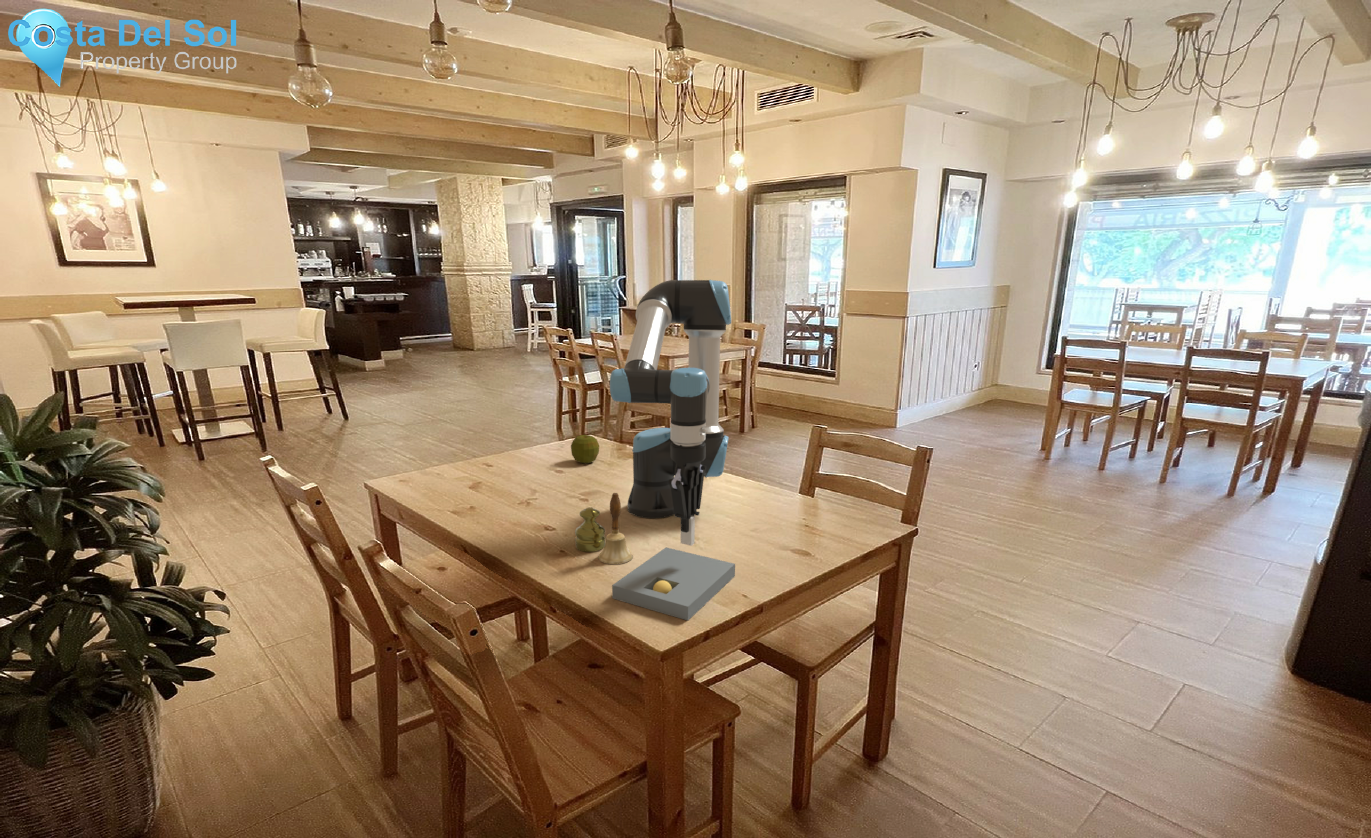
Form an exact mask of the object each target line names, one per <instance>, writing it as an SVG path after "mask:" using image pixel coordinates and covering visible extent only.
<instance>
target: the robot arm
mask: <svg viewBox="0 0 1371 838" xmlns="http://www.w3.org/2000/svg"><path fill="white" fill-rule="evenodd" d="M731 311H732V310H731V303H730V295H729V288H728V284H727V282H725V281H723V280H713V279H704V280H703V279H697V280H696V279H695V280H693V279H689V280H687V279H684V280H683V279H681V280H679V279H669V280H665V281H663V282H659V283H658V284H656V285H655V286H653V287H651V289H649V290H648V291H646V293H645V294H644V295H643V296H642V297H641V298H640V300H639V302H638V304H637V306H636V309H635V319H636V325H635V328H634V332H633V334H632V335H633V336H632V340H631V343H630V346H629V349H628V352H627V357H626V360H625V362H624V363H625V364H624V367H623V368H615V369H614V370H612V371H611V373H610V378H609V393H610V397H611V399H612V400H613V401H614V402H619V403H628V404H633V403H634V404H637V403H639V404H669V405H670V427H655V428H649V429H646V430H642V431H639V432H638V433H637V434H636V435H635V436H634V437H633V441H632V444H633V445H632V461H633V462H632V466H633V467H632V468H633V469H632V470H633V471H632V472H633V484H632V487H631V491H630V494H629V496H628V500H627V511H628V513H630V514H631V515H633V516H635V517H640V518H646V519H661V518H663V519H664V518H668V517H671V516H674V517H675V518H679V519H680V544H682V545H687V546H690V547H692V546H693V545H694V544H695V537H696V536H695V535H696V534H695V531H696V530H695V528H696V527H695V523H696V520H695V519H696V518H695V516H696V517H697V516H700V511H697V510H700V509H701V505H702V497H703V496H702V494H703V487H704V480H705V479H704V478H717V477H720V476H722V474H723V473H724V470H725V462H726V457H727V451H728V443H729V436H727V435H725V434H724V428H723V427H722V426H721V424H720V423H719V417H720V416H719V410H720V409H719V408H720V407H719V406H720V405H719V404H720V364H721V362H720V359H721V337H722V336H723V335H724V334H725V333H726V331H727V326H729V325H731V324H732V312H731ZM670 324H683V332H685V334H686V335H687V336H688V367H680V368H676V369H658V366H659V362H660V357H661V356H660V355H661V351H662V347H663V343H664V338H665V334H666V329H667V328H668V327H669V326H670Z"/></svg>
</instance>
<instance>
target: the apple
mask: <svg viewBox="0 0 1371 838" xmlns="http://www.w3.org/2000/svg"><path fill="white" fill-rule="evenodd" d="M570 444H571V445H570V450H571V456H572V458H573V459H574V460H575V462H578V463H580V464H585V463H586V464H590V463H592V462H595V461H596V460H597V457H598V455H599V452H600V444H599V441H598V440H597V438H595V436H592V435H589V434H588V435H587V434H586V433H585V432H584V434H581V435H577V436H576V437H575V438H574V439H573V440H572V442H571V443H570Z"/></svg>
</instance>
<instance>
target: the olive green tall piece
mask: <svg viewBox="0 0 1371 838" xmlns="http://www.w3.org/2000/svg"><path fill="white" fill-rule="evenodd" d="M600 514H601V512H600V510H598V509H597V508H595V507H590V506H588V507H586V508H584V509H582V510H580V511H579V516H580V518H583V520H584V521H583V522H582V523H581V524H580V525H579V526H577V527H576V529H575V531H574V534H575V539H574V541H575V548H576V549H577V550H578V551H581V552H587V553H593V552H597V551H598V552H599V551H601V550H603V549H604V547H605V542H606V536H605V534H606V528H605V527H604V526H603V525H601V524H600V523H599V522H597V520H596V519H597V518H598V517H599V516H600Z"/></svg>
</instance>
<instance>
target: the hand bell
mask: <svg viewBox="0 0 1371 838" xmlns="http://www.w3.org/2000/svg"><path fill="white" fill-rule="evenodd" d="M611 494H612V495H611V498H610V502H609V512H610V517H611V533H608V534H607V535H606V536H605V547H604V548H603V549H602V551H601V552H600V553H599V554H598V560H599V561H600V562H602V563H603V564H608V565H621V564H625V563H628V562H630V561H632V559H633V558H634V553H632V551H631V550H630V549H629V547H628V545H627V542H626V536H625V535H624V533H621V532H620V531H619V529H620V525H619V524H620V523H619V521H620V515H621V509H622V506H621V505H622V504H621V500H620V496H619V493H618V492H613V493H611Z"/></svg>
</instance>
